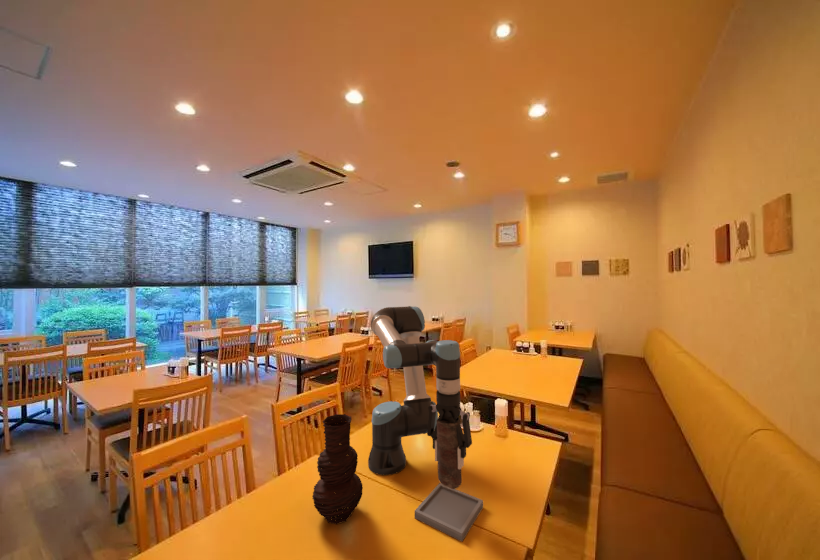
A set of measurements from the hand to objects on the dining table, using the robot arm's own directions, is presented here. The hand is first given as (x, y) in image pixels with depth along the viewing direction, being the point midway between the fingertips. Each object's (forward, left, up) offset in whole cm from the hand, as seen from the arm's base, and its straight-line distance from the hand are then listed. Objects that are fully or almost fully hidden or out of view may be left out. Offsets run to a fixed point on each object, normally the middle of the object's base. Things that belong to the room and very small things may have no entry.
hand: (449, 462), depth 100 cm
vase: (-29, -20, -16) cm, 39 cm away
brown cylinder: (0, 0, -6) cm, 6 cm away
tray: (0, 0, -16) cm, 16 cm away
